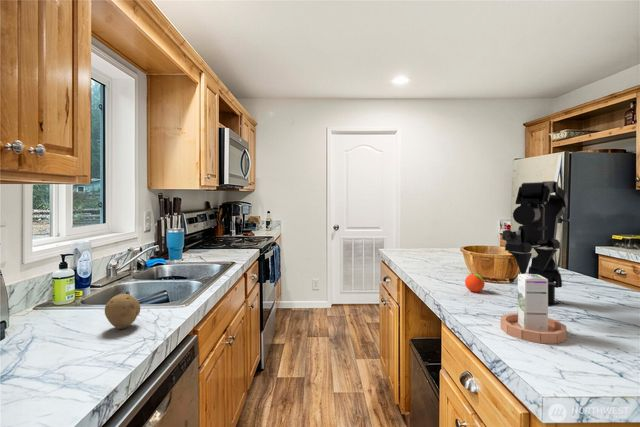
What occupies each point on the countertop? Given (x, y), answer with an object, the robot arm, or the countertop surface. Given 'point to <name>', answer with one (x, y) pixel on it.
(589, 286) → the countertop surface
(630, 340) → the countertop surface
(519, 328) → the terracotta dish
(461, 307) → the countertop surface
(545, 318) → the syrup box
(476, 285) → the clementine
